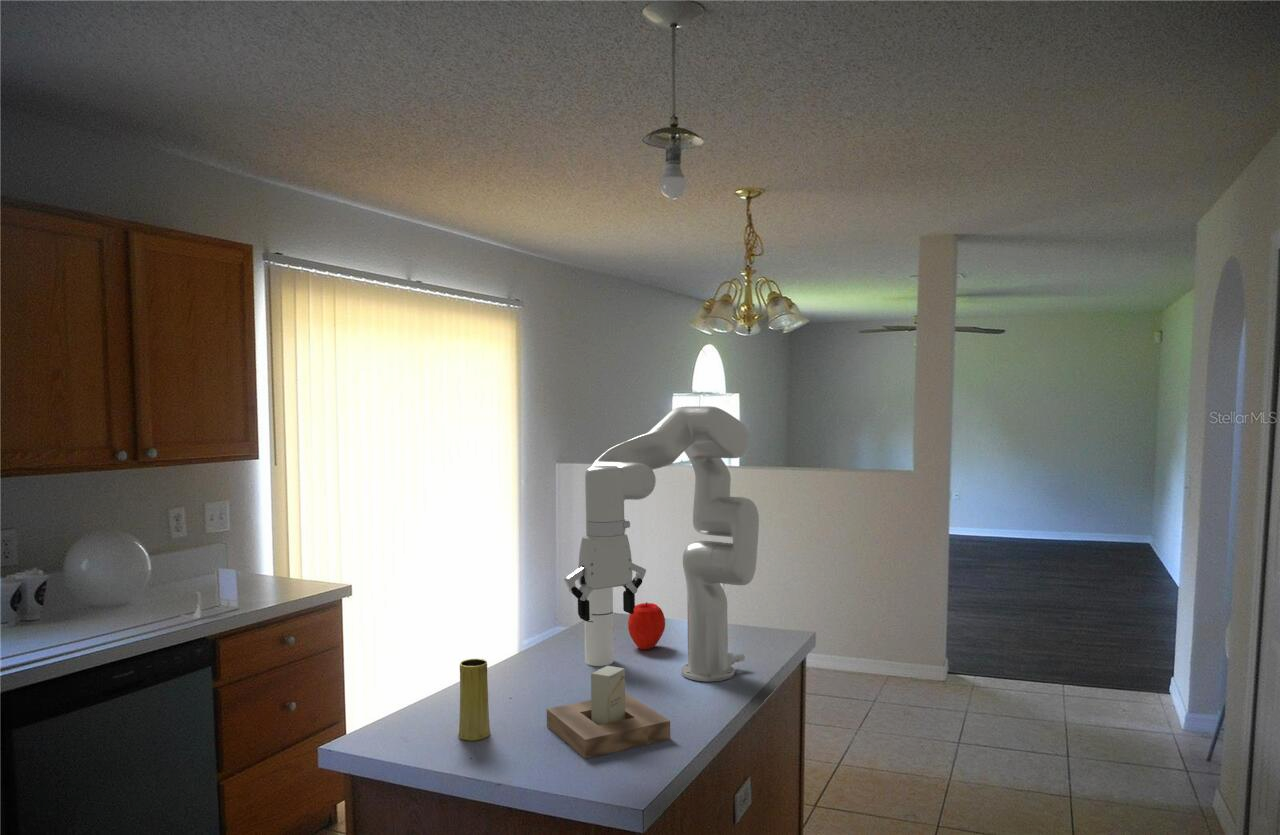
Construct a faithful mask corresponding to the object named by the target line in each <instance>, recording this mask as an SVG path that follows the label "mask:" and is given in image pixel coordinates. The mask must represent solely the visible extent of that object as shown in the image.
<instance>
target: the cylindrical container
mask: <svg viewBox="0 0 1280 835" xmlns="http://www.w3.org/2000/svg"><path fill="white" fill-rule="evenodd" d="M613 588H614V587H611V588H604V589H596V590H592V591H591V593H590V594H589V596H588V597H587V600H588V601H589V608H590V620H589V621H584V663H585V664H586V665H588V666H591V667H594V666H595V667H605V666H610V665H612V664H613V663H614V599H613V598H614V593H613V592H614V591H613V590H614V589H613ZM604 665H605V666H604Z"/></svg>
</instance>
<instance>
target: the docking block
mask: <svg viewBox="0 0 1280 835" xmlns="http://www.w3.org/2000/svg"><path fill="white" fill-rule="evenodd" d="M625 718H626V719H625V720H620V721H616V722H611V723H606V724H602V725H597V724H595V723H594V722H593V721H592V715H591V699H589V700H586V701H585V700H584V701H580V702H575V703H570V704H565V705H560V706H555V707H551V708H549V707H548V708H546V727H547V728H548V727H549V728H550V729H549V730H551V731H552V732H553V733H554V734H555V733H556V736H558V737H559V738H560V739H561V740H563V741H564V742H565V743H566V744H567V745H569V747H571V748H572V749H573V750H574V751H575V752H577V754H579V755H580V756H581V757H583V758H584V759H585V760H586V759H590V758H594V757H598V756H603V755H608V754H611V753H617V752H621V751H624V750H628V749H633V748H638V747H641V746H645V745H650V744H655V743H658V742H663V741H667V740H671V720H670V719H667V717H664V716H663V715H662V714H660V713H659V712H657V711H655V710H654V709H652V708H650V707H648V705H645V704H644V703H642V702H641V701H639V700H637V699H636V698H635V697H633V696H631V695H629V694H627V693H626V692H625Z"/></svg>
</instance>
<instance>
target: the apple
mask: <svg viewBox="0 0 1280 835" xmlns="http://www.w3.org/2000/svg"><path fill="white" fill-rule="evenodd" d="M665 618H666V617H665V615H664V612H663V610H662V608H661V607H659V606H658V605H657V604H656V603H653V602H652V603H651V602H647V601H646V602H644V603H639V604H635V608H634V614H629V616H628V622H627V629H628V633H629V636H630V638H631V640H632V642H634V644H635V645H636V647H637V648H638V649H640V650H642V651H643V650H650V649H651V650H652V649H653V648H654V647H655V646H656V645H657V644H658V642H659V641H660V639H661V638H662V636H663V634H664V631H665V627H666V619H665Z"/></svg>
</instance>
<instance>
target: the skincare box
mask: <svg viewBox="0 0 1280 835" xmlns="http://www.w3.org/2000/svg"><path fill="white" fill-rule="evenodd" d="M625 672H626V671H625V667H624V668H623V667H618V666H611V665H605V666H602V667H601V668H599V669H597V670H595V671H593V672H591V673H590V690H591V691H590V694H591V695H590V698H591V699H590V700H591V715H592V721H593V722H594V723H595V724H597V725H602V724H606V723H611V722H616V721H620V720H625V719H626V718H625V693H626V673H625Z"/></svg>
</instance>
